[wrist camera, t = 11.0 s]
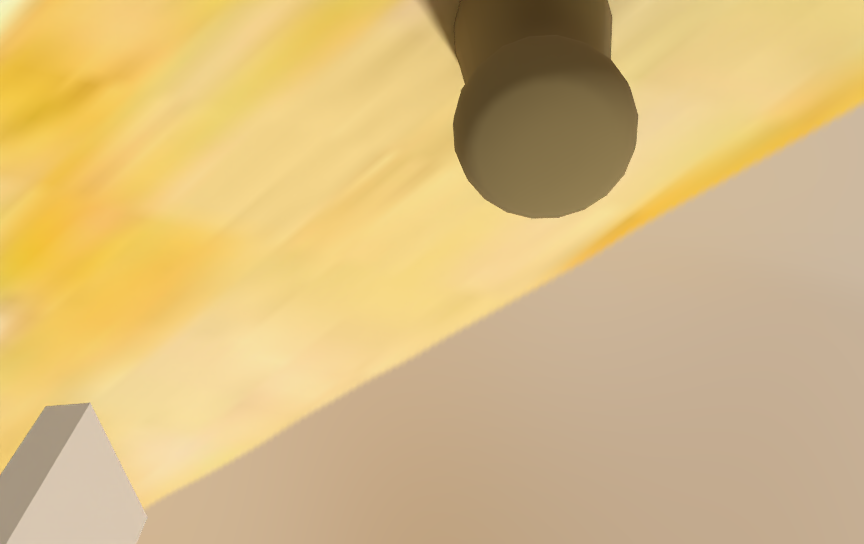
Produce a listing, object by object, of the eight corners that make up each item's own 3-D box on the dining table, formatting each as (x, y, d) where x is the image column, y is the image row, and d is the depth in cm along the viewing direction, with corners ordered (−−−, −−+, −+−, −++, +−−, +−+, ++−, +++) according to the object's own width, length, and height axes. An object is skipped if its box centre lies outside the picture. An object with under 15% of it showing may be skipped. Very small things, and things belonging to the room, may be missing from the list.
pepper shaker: (494, -78, 28) (492, 3, 19) (642, -9, 29) (709, 101, 20) (429, 72, 31) (401, 204, 22) (565, 131, 32) (592, 280, 23)
